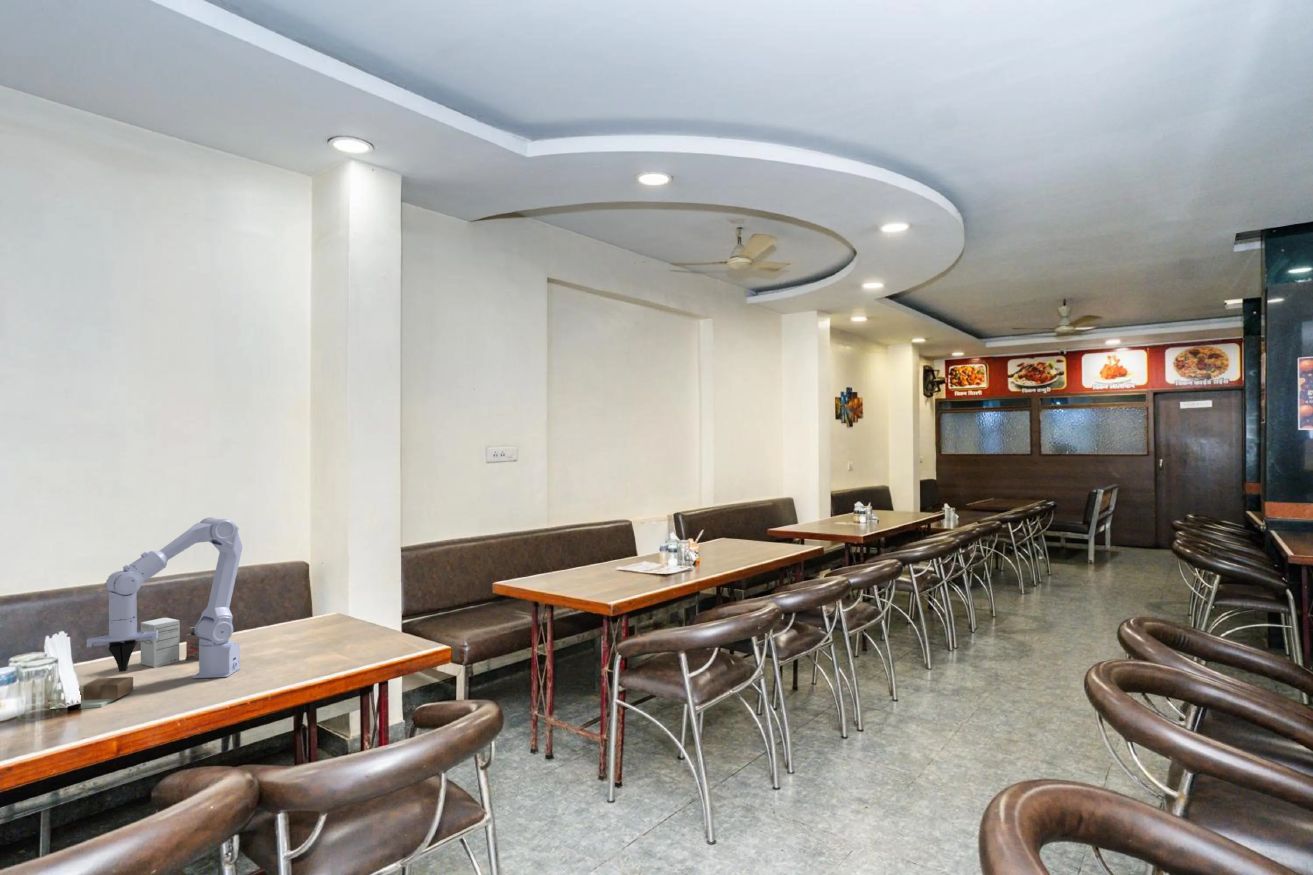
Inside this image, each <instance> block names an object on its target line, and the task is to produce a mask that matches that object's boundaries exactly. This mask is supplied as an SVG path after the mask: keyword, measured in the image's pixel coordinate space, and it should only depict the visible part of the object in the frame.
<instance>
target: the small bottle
mask: <svg viewBox="0 0 1313 875" xmlns="http://www.w3.org/2000/svg"><path fill="white" fill-rule="evenodd" d="M189 632H190V633H188V634H186V635H185V642H186V643H185V644H186V645H185V646H186V647H185V648H186V649H185V650H186V653H185V661H187V662H188V661H199V641H200V638H199V637H197V636H196V634H195V626H192V627H189Z"/></svg>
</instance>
